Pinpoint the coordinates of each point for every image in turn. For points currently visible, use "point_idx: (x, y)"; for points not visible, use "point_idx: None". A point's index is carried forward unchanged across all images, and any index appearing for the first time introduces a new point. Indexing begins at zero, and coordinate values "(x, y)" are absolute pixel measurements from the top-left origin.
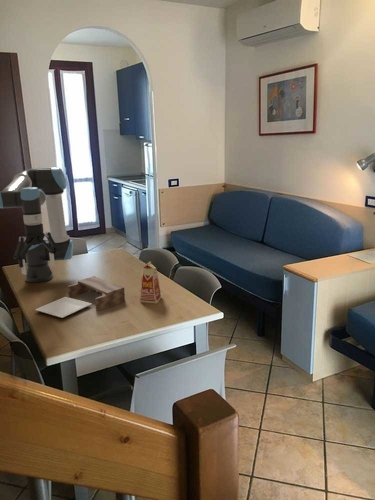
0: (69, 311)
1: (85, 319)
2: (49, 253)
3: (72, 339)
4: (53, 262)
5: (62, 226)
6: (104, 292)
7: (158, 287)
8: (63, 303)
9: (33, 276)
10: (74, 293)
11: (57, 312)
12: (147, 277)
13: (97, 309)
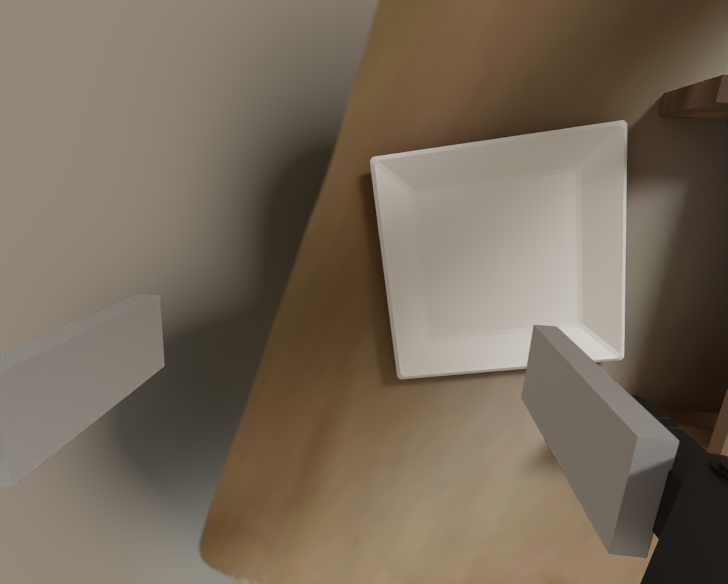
0: (490, 314)
1: (475, 441)
2: (628, 443)
3: (319, 533)
4: (550, 438)
5: None
6: (718, 445)
7: None
8: (553, 182)
9: None
10: (710, 115)
11: (442, 273)
12: None
13: None
